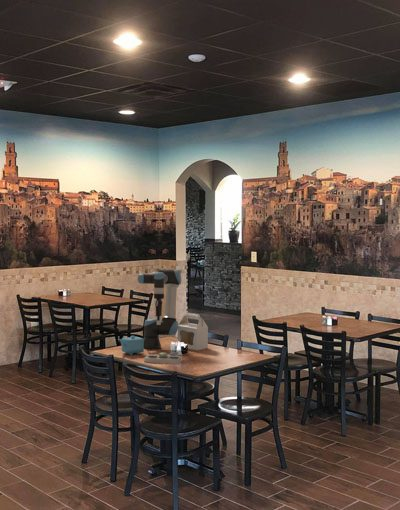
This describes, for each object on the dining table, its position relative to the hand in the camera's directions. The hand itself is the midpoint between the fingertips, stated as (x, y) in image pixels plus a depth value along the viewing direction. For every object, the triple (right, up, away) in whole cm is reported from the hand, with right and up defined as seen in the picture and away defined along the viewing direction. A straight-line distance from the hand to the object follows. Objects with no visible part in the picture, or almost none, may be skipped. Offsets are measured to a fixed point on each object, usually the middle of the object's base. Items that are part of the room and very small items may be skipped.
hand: (158, 324), depth 479 cm
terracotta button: (-4, -20, -13) cm, 24 cm away
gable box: (+25, -23, +41) cm, 53 cm away
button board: (+4, -25, -14) cm, 29 cm away
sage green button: (+4, -21, -14) cm, 26 cm away
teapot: (-22, -24, +11) cm, 34 cm away
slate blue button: (+12, -20, -15) cm, 28 cm away
